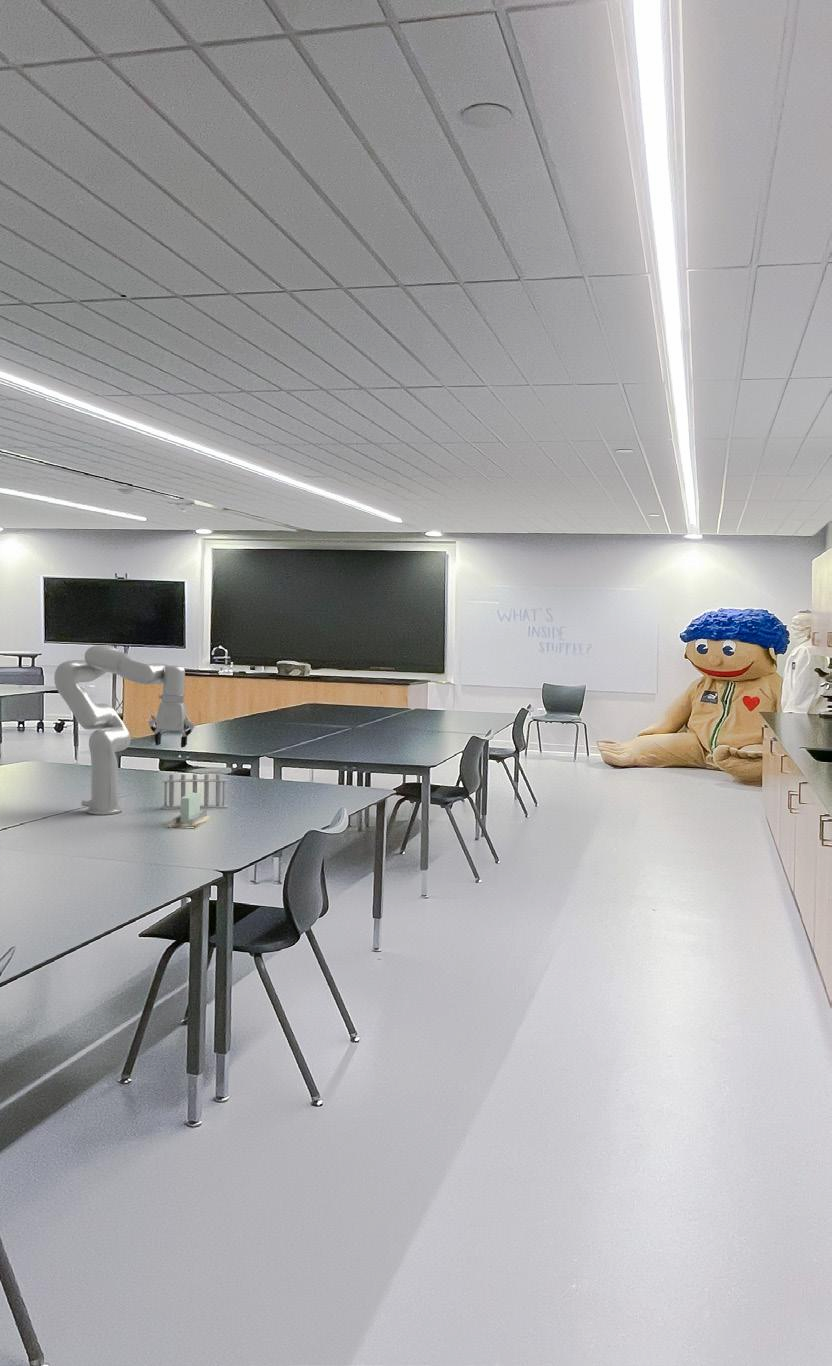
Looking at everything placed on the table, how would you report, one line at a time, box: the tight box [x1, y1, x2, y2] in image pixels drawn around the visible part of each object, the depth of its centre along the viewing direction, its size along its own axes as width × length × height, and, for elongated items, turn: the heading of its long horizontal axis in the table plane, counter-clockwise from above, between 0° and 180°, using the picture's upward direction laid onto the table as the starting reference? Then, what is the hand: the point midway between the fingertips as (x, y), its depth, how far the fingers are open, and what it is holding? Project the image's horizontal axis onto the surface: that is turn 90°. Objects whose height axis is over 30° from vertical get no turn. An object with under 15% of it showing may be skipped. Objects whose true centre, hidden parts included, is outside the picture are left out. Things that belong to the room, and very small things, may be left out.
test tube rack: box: [160, 773, 228, 810], centre depth 385 cm, size 25×4×13 cm, turn 101°
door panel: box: [179, 792, 201, 824], centre depth 355 cm, size 3×12×9 cm, turn 173°
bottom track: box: [167, 810, 212, 829], centre depth 355 cm, size 10×18×3 cm, turn 174°
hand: (170, 745), depth 363 cm, fingers open, 9 cm apart
